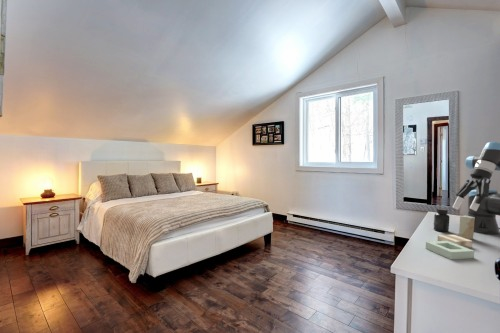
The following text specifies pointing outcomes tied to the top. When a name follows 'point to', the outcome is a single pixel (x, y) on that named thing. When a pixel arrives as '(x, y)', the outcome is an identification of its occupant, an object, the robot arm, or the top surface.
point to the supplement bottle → (441, 220)
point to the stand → (456, 240)
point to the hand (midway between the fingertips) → (463, 209)
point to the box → (466, 227)
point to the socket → (450, 250)
